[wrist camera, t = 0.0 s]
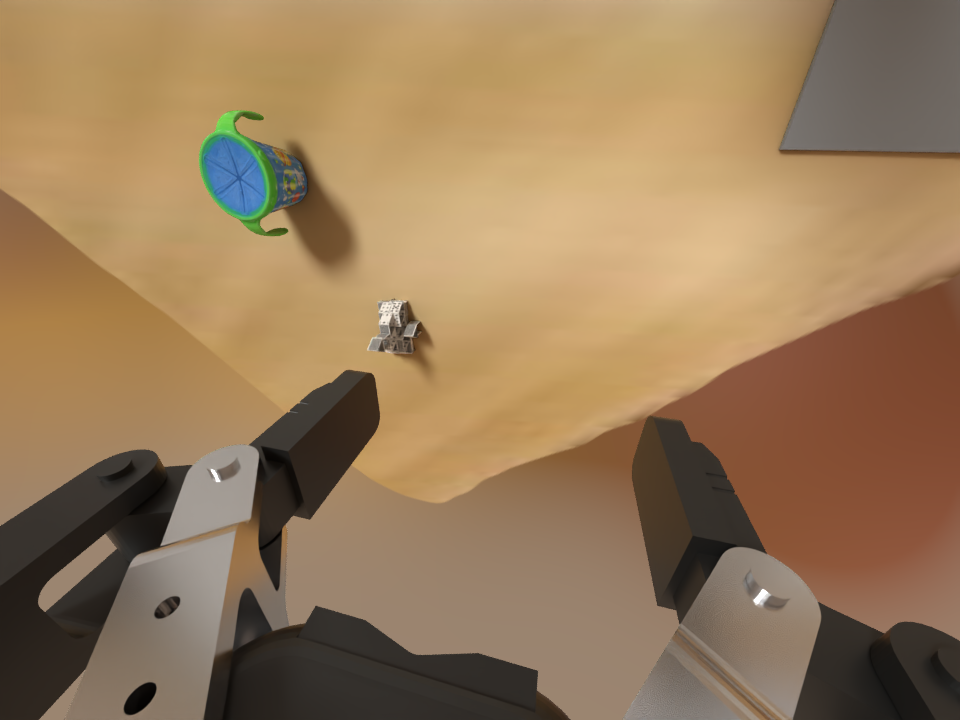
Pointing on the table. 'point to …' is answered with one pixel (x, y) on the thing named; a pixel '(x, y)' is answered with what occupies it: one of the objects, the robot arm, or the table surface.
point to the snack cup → (249, 174)
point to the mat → (882, 80)
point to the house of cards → (394, 329)
